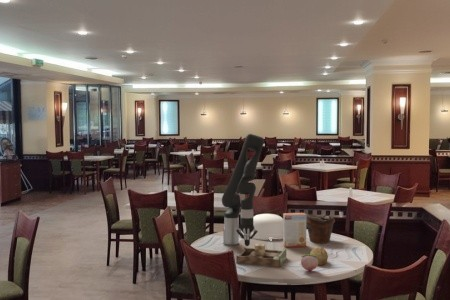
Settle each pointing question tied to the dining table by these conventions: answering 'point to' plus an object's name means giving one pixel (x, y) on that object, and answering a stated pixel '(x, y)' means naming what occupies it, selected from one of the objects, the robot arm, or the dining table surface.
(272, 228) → the dome cover
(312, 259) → the decorative fruit
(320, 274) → the dining table surface
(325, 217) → the brown plant pot
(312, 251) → the bread roll
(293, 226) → the cracker box
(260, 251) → the maple block
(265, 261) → the wooden divided tray
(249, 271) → the dining table surface
